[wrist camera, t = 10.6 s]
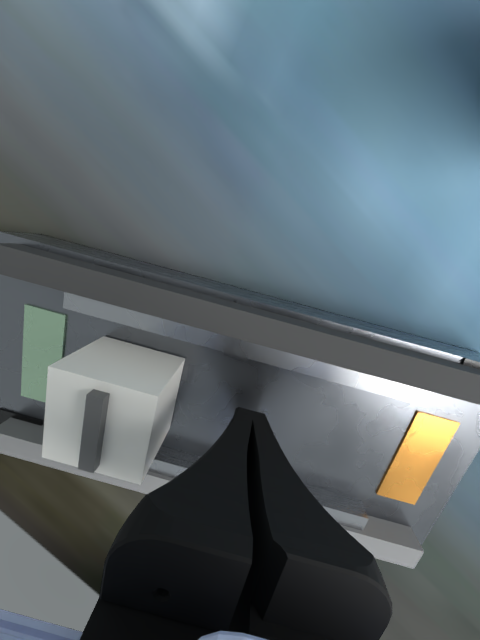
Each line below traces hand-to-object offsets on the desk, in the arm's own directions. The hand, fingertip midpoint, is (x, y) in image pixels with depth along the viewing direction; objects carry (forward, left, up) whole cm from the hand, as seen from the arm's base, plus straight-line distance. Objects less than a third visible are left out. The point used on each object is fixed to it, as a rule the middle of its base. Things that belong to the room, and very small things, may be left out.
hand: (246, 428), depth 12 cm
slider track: (0, +1, -4) cm, 4 cm away
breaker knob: (0, +6, -1) cm, 6 cm away
